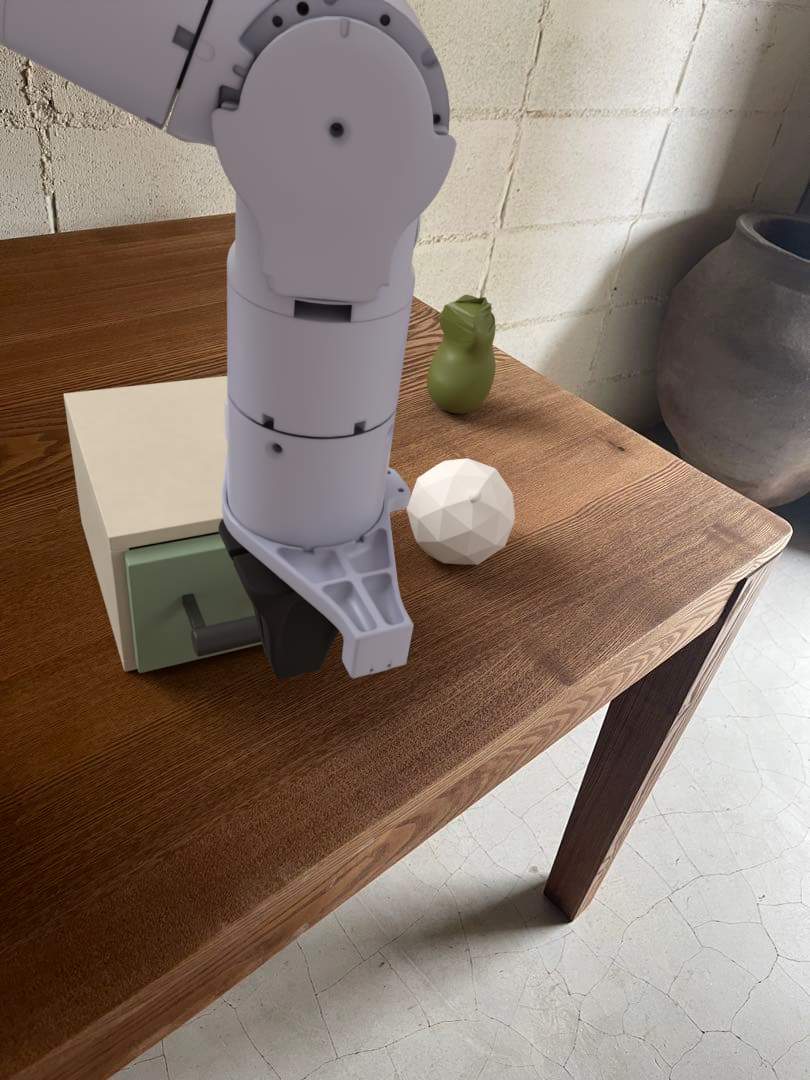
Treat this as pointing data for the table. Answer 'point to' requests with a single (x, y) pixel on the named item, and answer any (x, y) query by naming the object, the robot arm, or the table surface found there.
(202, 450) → the storage box
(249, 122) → the robot arm
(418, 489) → the ornament
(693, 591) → the table surface
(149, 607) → the drawer
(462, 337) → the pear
